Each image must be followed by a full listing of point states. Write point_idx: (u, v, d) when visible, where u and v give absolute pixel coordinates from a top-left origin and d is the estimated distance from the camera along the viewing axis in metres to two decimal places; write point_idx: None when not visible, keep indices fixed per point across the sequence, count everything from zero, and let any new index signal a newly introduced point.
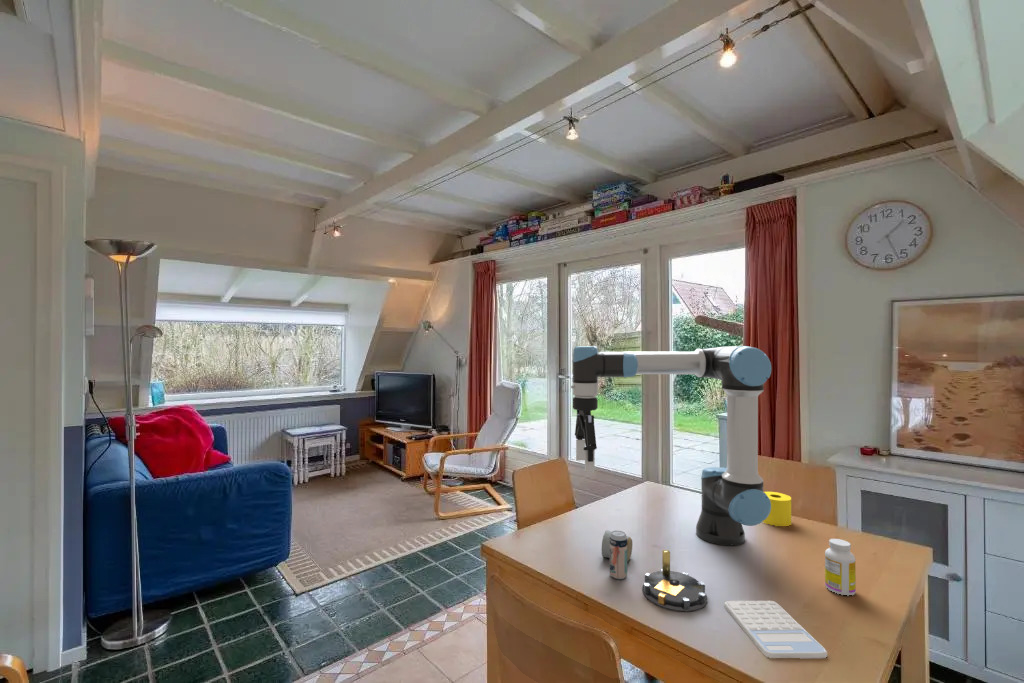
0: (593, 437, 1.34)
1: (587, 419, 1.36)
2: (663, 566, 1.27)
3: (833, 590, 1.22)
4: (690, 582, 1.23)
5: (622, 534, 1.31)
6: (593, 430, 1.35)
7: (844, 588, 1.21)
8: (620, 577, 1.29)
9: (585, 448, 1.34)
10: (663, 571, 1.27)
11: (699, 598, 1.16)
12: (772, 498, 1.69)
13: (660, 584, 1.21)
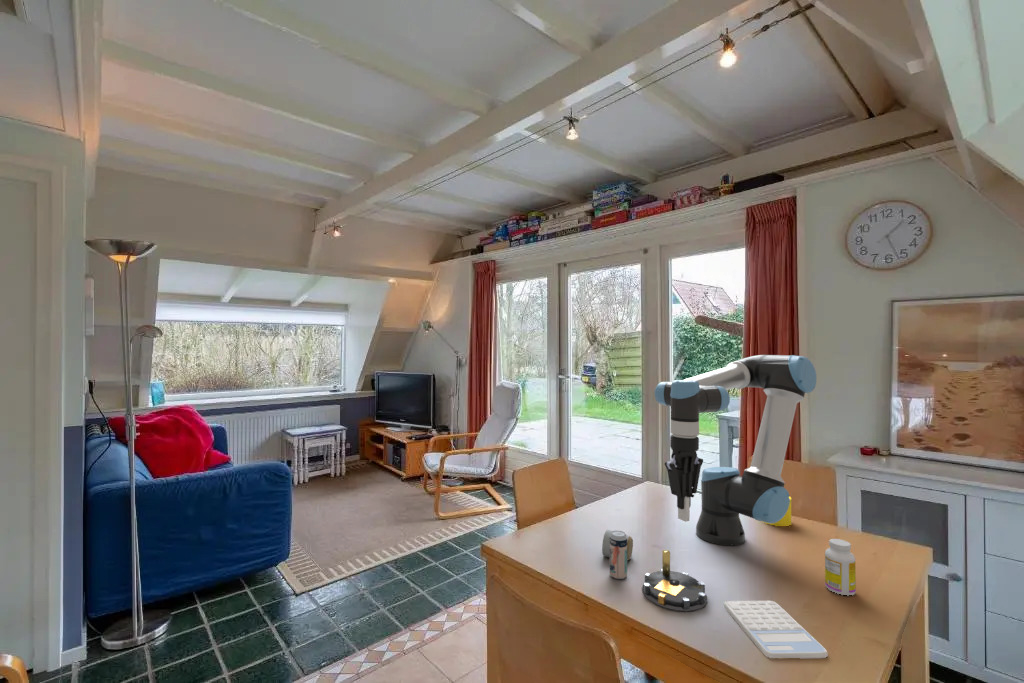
0: (674, 485, 1.28)
1: (667, 466, 1.28)
2: (663, 566, 1.27)
3: (833, 590, 1.22)
4: (690, 582, 1.23)
5: (622, 534, 1.31)
6: (674, 478, 1.28)
7: (844, 588, 1.21)
8: (620, 577, 1.29)
9: None
10: (663, 571, 1.27)
11: (699, 598, 1.16)
12: None
13: (660, 584, 1.21)
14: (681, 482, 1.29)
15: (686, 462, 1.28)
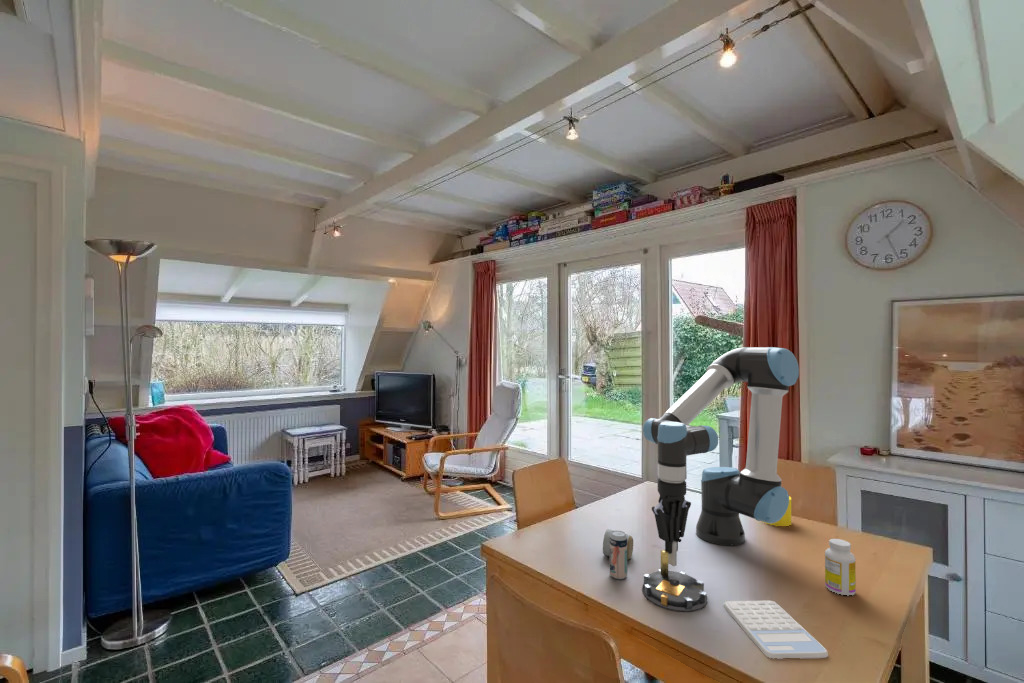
0: (662, 530, 1.26)
1: (654, 512, 1.26)
2: (661, 566, 1.27)
3: (833, 590, 1.22)
4: (689, 581, 1.23)
5: (622, 534, 1.31)
6: (661, 524, 1.26)
7: (844, 588, 1.21)
8: (620, 577, 1.29)
9: None
10: (661, 571, 1.27)
11: (700, 597, 1.17)
12: None
13: (661, 585, 1.20)
14: (669, 527, 1.27)
15: (673, 507, 1.26)
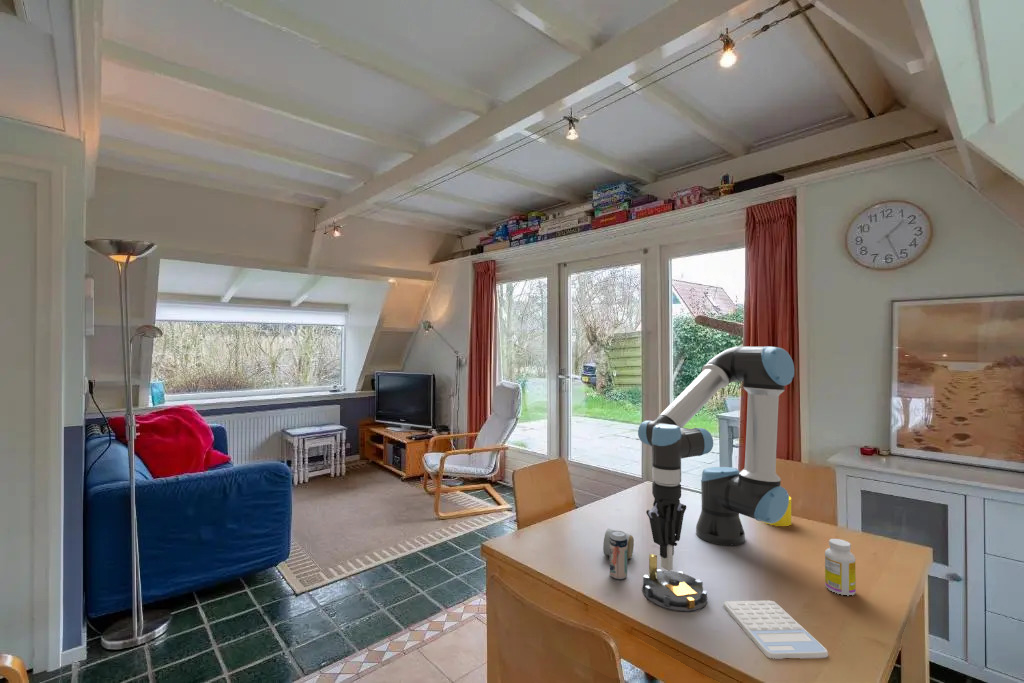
0: (656, 534, 1.25)
1: (648, 515, 1.25)
2: (653, 572, 1.24)
3: (833, 590, 1.22)
4: (676, 575, 1.26)
5: (622, 534, 1.31)
6: (656, 527, 1.24)
7: (844, 588, 1.21)
8: (620, 577, 1.29)
9: None
10: (653, 577, 1.24)
11: None
12: None
13: (673, 590, 1.18)
14: (663, 531, 1.26)
15: (668, 510, 1.25)
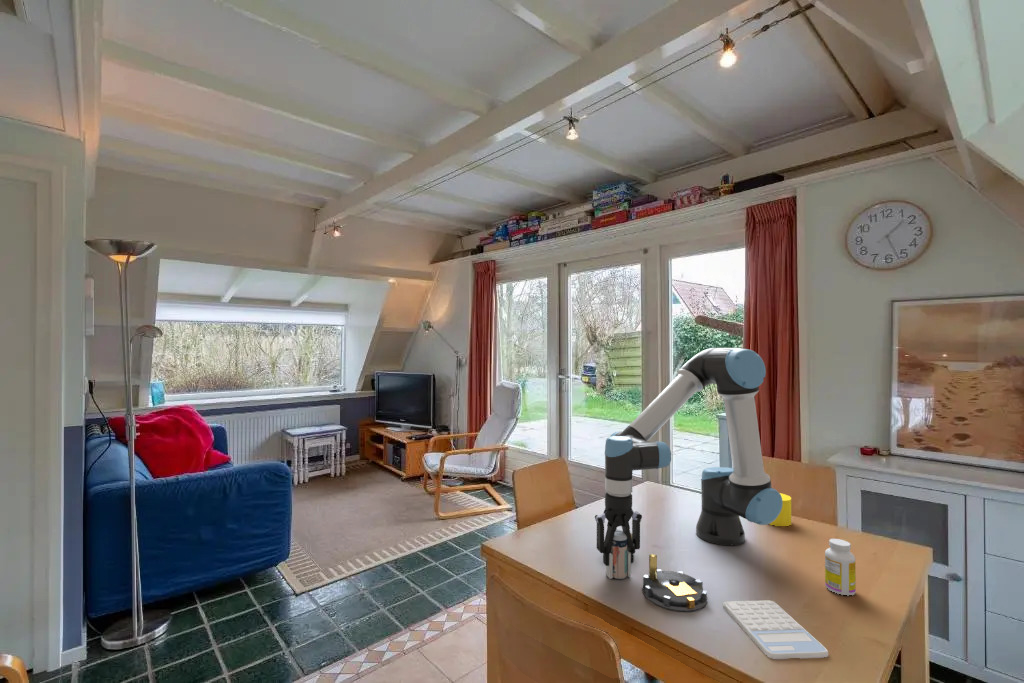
0: (599, 540, 1.29)
1: (596, 520, 1.30)
2: (653, 572, 1.24)
3: (833, 590, 1.22)
4: (676, 575, 1.26)
5: (622, 534, 1.31)
6: (599, 533, 1.29)
7: (844, 588, 1.21)
8: (620, 577, 1.29)
9: None
10: (653, 577, 1.24)
11: None
12: None
13: (673, 590, 1.18)
14: (608, 539, 1.30)
15: (616, 520, 1.29)
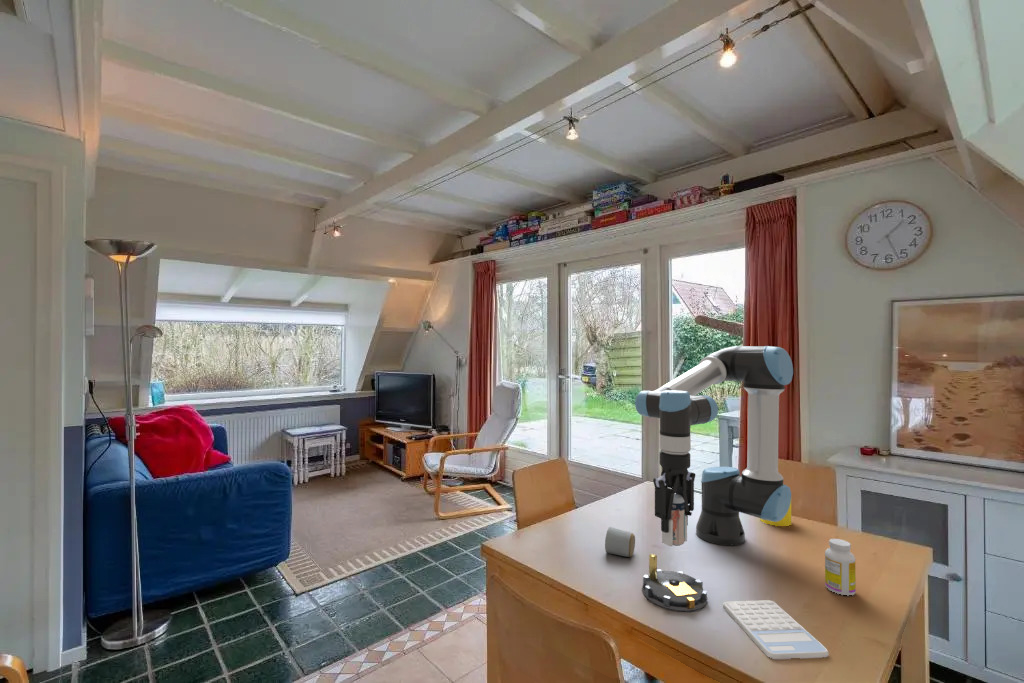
0: (660, 505, 1.16)
1: (655, 483, 1.17)
2: (653, 572, 1.24)
3: (833, 590, 1.22)
4: (676, 575, 1.26)
5: (679, 496, 1.19)
6: (661, 497, 1.16)
7: (844, 588, 1.21)
8: (680, 543, 1.17)
9: None
10: (653, 577, 1.24)
11: None
12: None
13: (673, 590, 1.18)
14: (668, 503, 1.17)
15: (677, 481, 1.17)
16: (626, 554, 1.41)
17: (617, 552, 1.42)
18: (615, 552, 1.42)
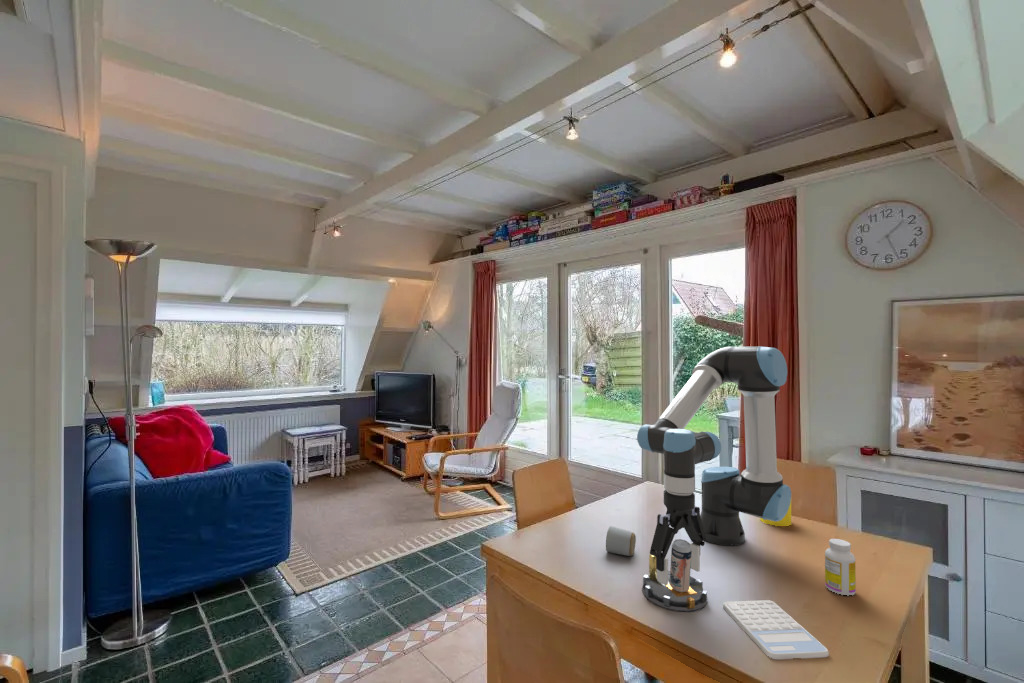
0: (658, 543, 1.14)
1: (659, 519, 1.16)
2: (653, 572, 1.24)
3: (833, 590, 1.22)
4: None
5: (686, 543, 1.17)
6: (661, 535, 1.14)
7: (844, 588, 1.21)
8: (686, 590, 1.17)
9: None
10: (653, 577, 1.24)
11: None
12: None
13: (673, 590, 1.18)
14: (667, 541, 1.15)
15: (681, 521, 1.16)
16: (627, 553, 1.42)
17: (618, 551, 1.43)
18: (616, 551, 1.43)
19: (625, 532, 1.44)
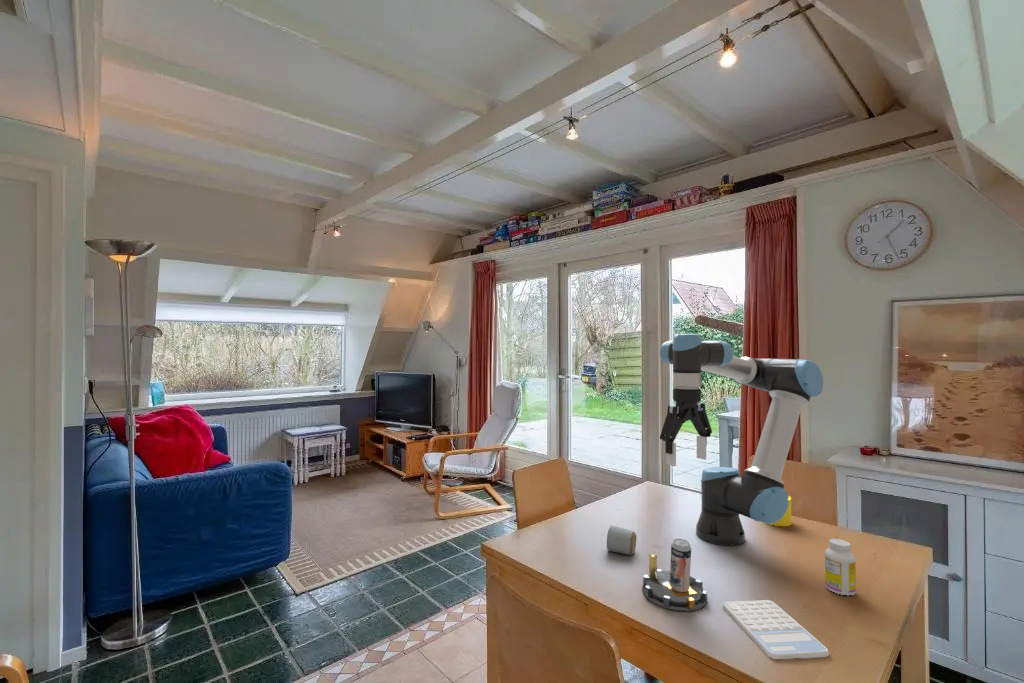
0: (668, 428, 1.28)
1: (669, 409, 1.30)
2: (653, 572, 1.24)
3: (833, 590, 1.22)
4: None
5: (685, 543, 1.18)
6: (670, 421, 1.28)
7: (844, 588, 1.21)
8: (686, 590, 1.17)
9: None
10: (653, 577, 1.24)
11: None
12: None
13: (673, 590, 1.18)
14: (675, 428, 1.29)
15: (688, 412, 1.31)
16: (627, 552, 1.42)
17: (618, 550, 1.43)
18: (616, 550, 1.44)
19: (626, 531, 1.45)
